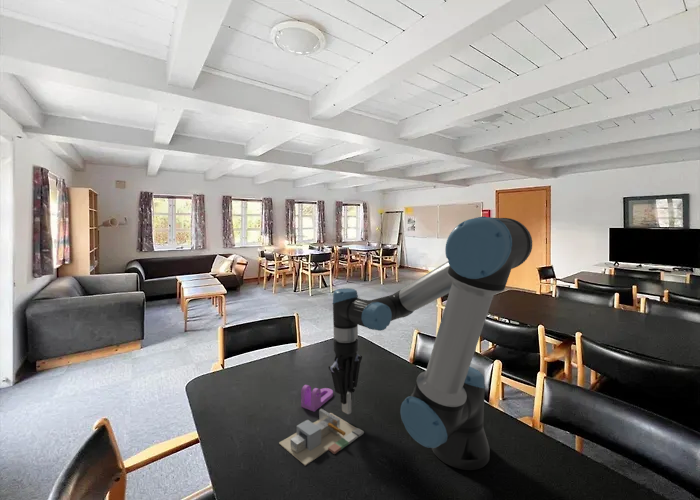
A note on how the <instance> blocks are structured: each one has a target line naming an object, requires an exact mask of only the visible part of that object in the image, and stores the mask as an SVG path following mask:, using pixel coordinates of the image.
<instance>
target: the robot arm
mask: <svg viewBox="0 0 700 500" xmlns="http://www.w3.org/2000/svg"><path fill="white" fill-rule="evenodd" d="M532 249H533V238H532V234H531V233H530V231H529V229H528V228H527V227H526V226H525V225H524V224H523V223H521V221H518V220H516V219H514V218H509V217H492V216H477V217H474V218H470V219H467V220H464V221H462V222H461V223H459V224H458V225H456V226H455V227H454V228H453V229H452V230H451V232H450V233H449V235H448V237H447V240H446V243H445V251H444V252H445V258H446V259H447V261H446V262H445V263H443V264H441V265H439V266H438V267H435V268H434V269H432V270H431V271H429V272H428V273H425V274H424V275H422V276H420V277H418V279H416V280H414V281H412V282H411V283H409V284H408V285H406V286H405V287H403V288H401V289H398V290H397V291H396V292H394V293H392V294H390V295H389V294H388V295H386V296H382V297H377V298H374V299H369V300H368V299H363V298H359V296H358V292H357V290H356V289H354V288H348V287H347V288H338V289H335V290H334V291H333V296H332V316H333V318H332V320H333V352H334V354H335V357H334V362H333V364H330V365H329V366H328V370H329V371H330V373H331V377H332V383H333V387H334V392H335V393H337V394H339V395H340V403H341V411H342V412H343V413H345V414H346V415H350V414H351V413H352V400H353V393H354V392H355V391H356V390H355V388H357V386H358V381H359V375H360V366H361V362H362V360H363V356H362V355H360V354H358V350H359V346H358V344H359V339H358V338H359V332H358V331H359V330H358V326H361V327H364V328H366V329H369V330H373V331H381V332H382V331H384V330H386V329H387V327H388V326H390V324H391V323H392V321H395V320H399V319H401V318H406V317H408V316H410V315H411V314H413V313H414V312H415V311H417V310H419V309H421V308H422V307H425V306H427V305H429V304H430V303H432V302H435V301H436V300H439V299H440V298H442V297H444V296H446V295H448V297H447V299H446V304H445V307H444V308H443V309H444V310H443V312H442V317H441V320H440V322H439V326H438V330H437V333H436V337H435V339H434V344H433V347H432V350H431V352H430V357H429V360H428V364H427V367H426V370H425V371H422V372H420V373H419V374H418V375H417V377H416V381H415V384H414V387H413V391H412V393H411V394H410V396H409V395H408V396H407V397H406V398H404V400H403V401H402V402H401V403H400V407H399V408H400V409H399V410H400V411H399V413H400V418H401V421H402V423H403V425H404V428H405V430H406V432H407V434H409V436H410V437H411V438H412V439H413V440H414V441H415V442H417V443H418V444H419V445H421V446H422V447H424V448H427V449H429V448H430V449H431V450H432V452H433V454H434V455H435V457H436V458H438V459H439V460H440V461H441V462H442V463H444V464H445V465H448V466H450V467H452V468H455V469H458V470H462V471H463V470H464V471H475V470H480V469H482V468H484V467H485V466H487V464H488V463H489V462H490V455H491V454H490V452H491V451H490V445H489V441H488V439H487V436H486V435H487V434H486V432H485V429H484V416H485V415H484V414H485V411H484V410H485V392H486V391H485V389H486V385H485V376H484V375H483V373H482V372H481V371H480V370H478V369H476V368H474V367H472V366H471V365H472V361H473V358H474V354H475V352H476V349H477V346H478V343H479V340H480V337H481V334H482V332H483V327H484V325H485V322H486V319H487V316H488V313H489V310H490V307H491V304H492V301H493V299H494V296H496V295H497V294H500V293H502V292H504V291H505V289H506V286H507V283H508V281H509V278H510V274H511V271H512V270H513V269H515V268H517V267H520V266H521V265H522V264H524V263H525V262H526V261H527V260H528V258H529V257H530V255H531V253H532Z"/></svg>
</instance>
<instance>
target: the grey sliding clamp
mask: <svg viewBox="0 0 700 500" xmlns="http://www.w3.org/2000/svg"><path fill="white" fill-rule="evenodd" d="M330 413H331V412H328V411H326V410H324V408H319V410H318V416H319V417H318V418H319V419H318V420H319V423H317V424H316V426H318V427H319V428H321V438H323V437H324V436H326V435H327V434H329V433H330V432H332V433H333V434H335V435H337V436H338V435H340V434H342V435H343V436H344V435H345V432H344V431H342V430H341V429H340V419H338V418H336V417H335V416H333V415H331V414H330ZM290 440H291V449H292V450H293V451H295V452H296V453H299V452H301V451H302V450H304V449H305V448H307V436H306V435H305V434H304V433H300V434H299V435H297V436H295V437H294V438H292V439H290Z"/></svg>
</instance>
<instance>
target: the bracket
mask: <svg viewBox="0 0 700 500" xmlns="http://www.w3.org/2000/svg"><path fill="white" fill-rule="evenodd" d="M333 396H334V390H333V389H331V388H328V387H324V388H317V387H314V388H313V389H312V387H311V385H309V384H304V385H303V386H302V387H301V390H300V399H301V402H300V407H301V408H303V409H306V410H309V411H311V412H317V410H318V409H321V407H322V406H323V405H324V404H325V403H327V402H328V401H329V400H331V399H332V398H333Z"/></svg>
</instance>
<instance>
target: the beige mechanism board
mask: <svg viewBox="0 0 700 500" xmlns="http://www.w3.org/2000/svg"><path fill="white" fill-rule="evenodd" d="M329 413H330V414H331V415H333V416H335V417H336V418H338V419H340V429H341V430H342V431H344V432H345V435H344V436H343V435H342V434H340V435H338V436H337V435H335V434H333V433H332V432H330V433H329V434H327V435H326V436H324V437H323V438H321V428H319V427H318V426H316V424H317V423H319V419H317V420H316V421H314V422H312V421H310V420H309V419H306V420H304V421H302V422H301V423H299V424H297V425H296V432H295V433H293V434H291V435H289V436H288V437H287V438H284V439H283V440H281V441H279V442H278V444H279V446H281V447H282V448H284V450H286V451H287V452H288V453H289V454H291V455H292V456H293V457H294V458H295V459H297V461H299V462H300V463H301V464H302V465H304V467H305V466H307V465H309V464H310V463H311V462H313V461H314V460H315V459H317V458H319V457H320V456H322V455H323V454H325V453H326V452H327V451H329V452H330V453H332V454H334V455H335V454H337V453H338V452H339V451H341V450H343V449H344V448H345V447H347V446H348V445H350V444H351V443H352V442H354V441H356V439H358V438H359V437H361V436H362V435H364V433H365V431H364V430H362V429H361V428H359V427H355V426H354V425H352V424H350V423H349V422H347V420H344V419H342V418H341V417H339V416H337V415H336V414H334V413H333V412H329ZM300 433H304V434H305V435H306V436H307V448H305V449H304V450H302V451H301V452H299V453H296V452H295V451H293V450H292V449H291V440H290V439H292V438H294V437H295V436H297V435H299V434H300Z"/></svg>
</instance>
